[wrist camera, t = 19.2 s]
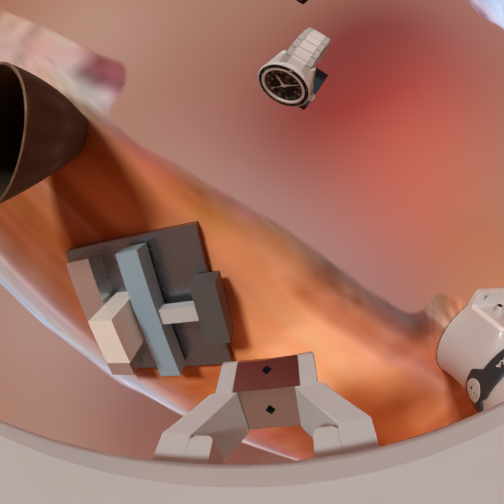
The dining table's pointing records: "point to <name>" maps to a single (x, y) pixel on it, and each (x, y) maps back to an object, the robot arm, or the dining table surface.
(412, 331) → the dining table surface
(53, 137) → the plant pot
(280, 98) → the watch
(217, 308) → the vise jaw
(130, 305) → the block
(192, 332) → the vise bed
